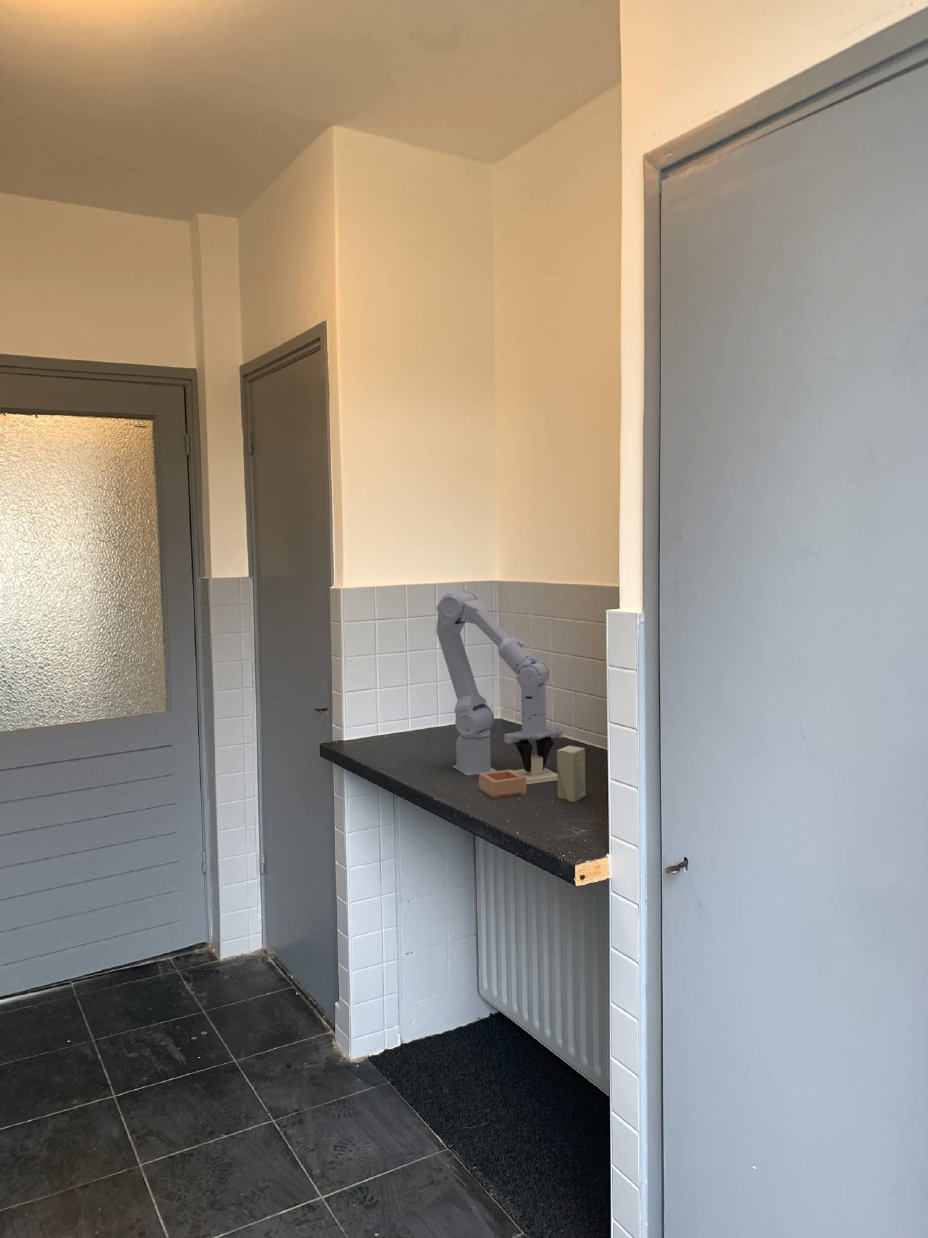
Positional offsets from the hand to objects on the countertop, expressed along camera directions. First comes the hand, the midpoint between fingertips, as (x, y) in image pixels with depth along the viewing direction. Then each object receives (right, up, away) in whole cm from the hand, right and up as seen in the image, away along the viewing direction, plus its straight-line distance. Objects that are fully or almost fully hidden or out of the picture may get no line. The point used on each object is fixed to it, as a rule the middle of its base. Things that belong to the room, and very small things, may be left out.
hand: (534, 770), depth 213 cm
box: (+7, -4, -16) cm, 18 cm away
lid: (0, -2, 0) cm, 2 cm away
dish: (-8, -3, -12) cm, 15 cm away
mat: (0, -2, 0) cm, 2 cm away
